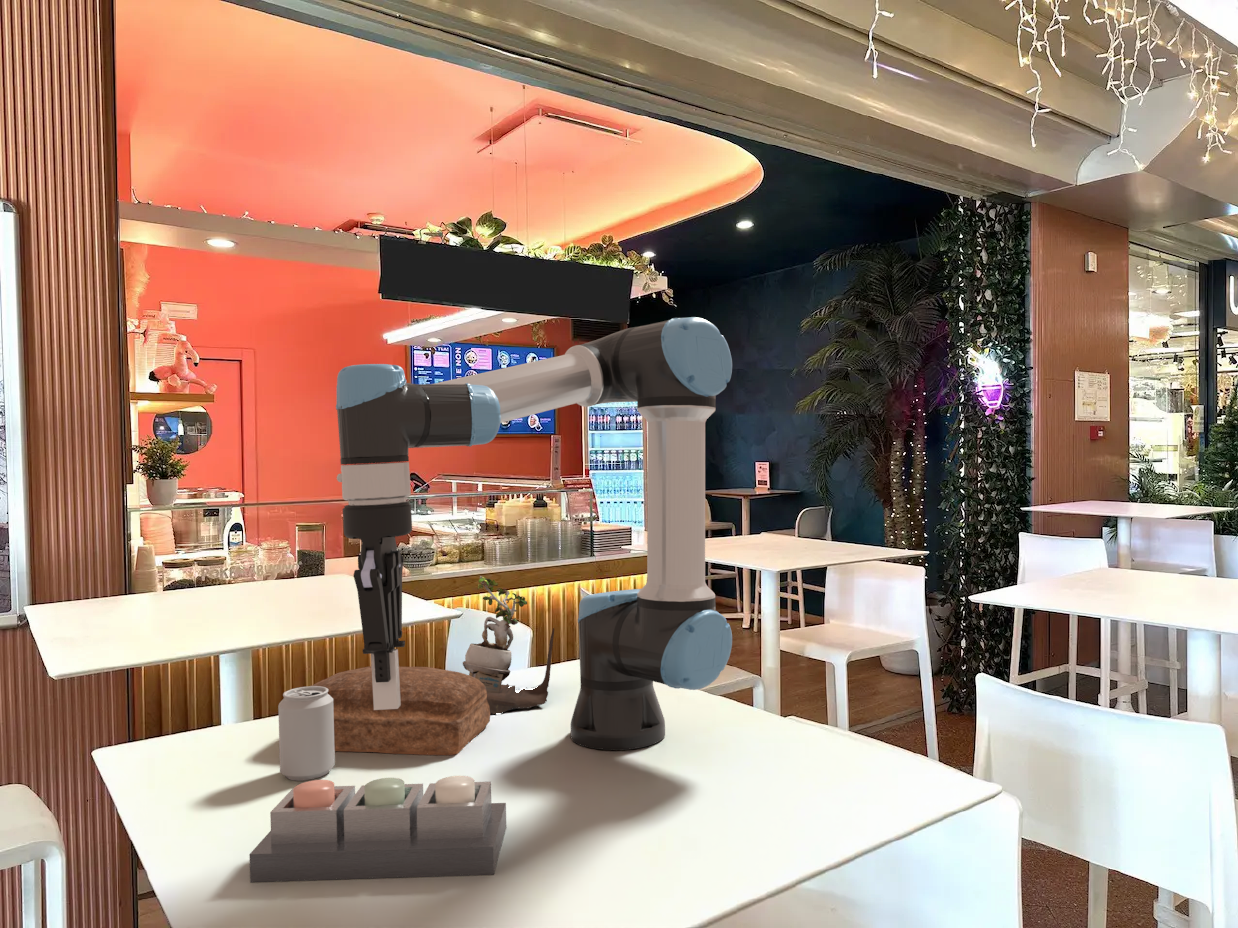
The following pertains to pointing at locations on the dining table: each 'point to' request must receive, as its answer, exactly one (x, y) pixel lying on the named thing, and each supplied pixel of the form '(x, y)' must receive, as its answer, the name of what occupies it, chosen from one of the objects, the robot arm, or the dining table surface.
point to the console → (381, 838)
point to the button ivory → (455, 790)
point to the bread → (408, 712)
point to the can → (306, 733)
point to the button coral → (314, 794)
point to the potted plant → (502, 658)
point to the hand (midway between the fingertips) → (387, 707)
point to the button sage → (385, 792)
